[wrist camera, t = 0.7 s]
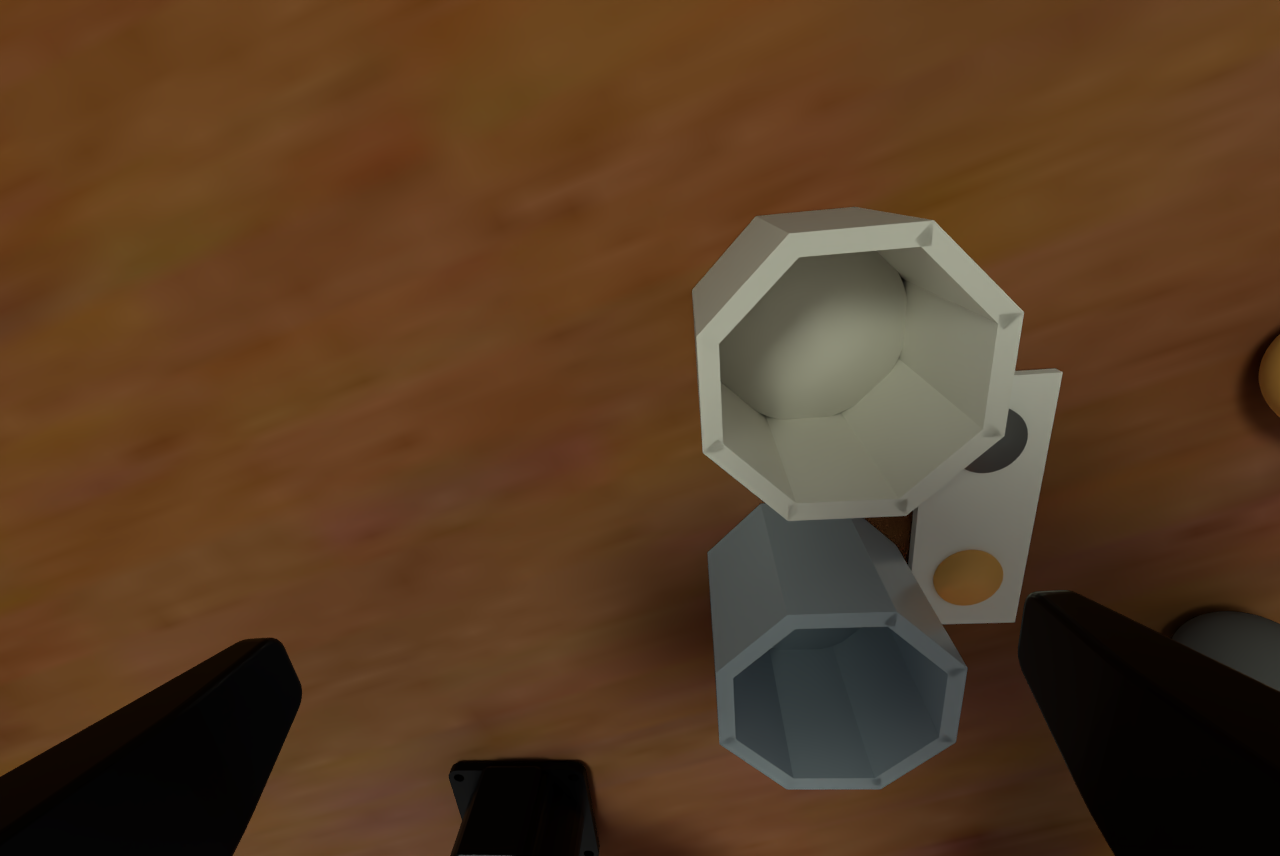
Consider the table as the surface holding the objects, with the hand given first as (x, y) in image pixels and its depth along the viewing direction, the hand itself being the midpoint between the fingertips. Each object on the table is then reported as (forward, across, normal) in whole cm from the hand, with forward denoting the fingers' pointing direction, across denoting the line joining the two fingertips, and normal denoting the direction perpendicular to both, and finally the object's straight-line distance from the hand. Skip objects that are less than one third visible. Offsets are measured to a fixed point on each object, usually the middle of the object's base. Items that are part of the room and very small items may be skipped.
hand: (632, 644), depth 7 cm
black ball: (+12, -19, +13) cm, 26 cm away
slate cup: (+14, -4, +10) cm, 17 cm away
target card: (+14, -10, +7) cm, 18 cm away
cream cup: (+14, -5, 0) cm, 14 cm away
